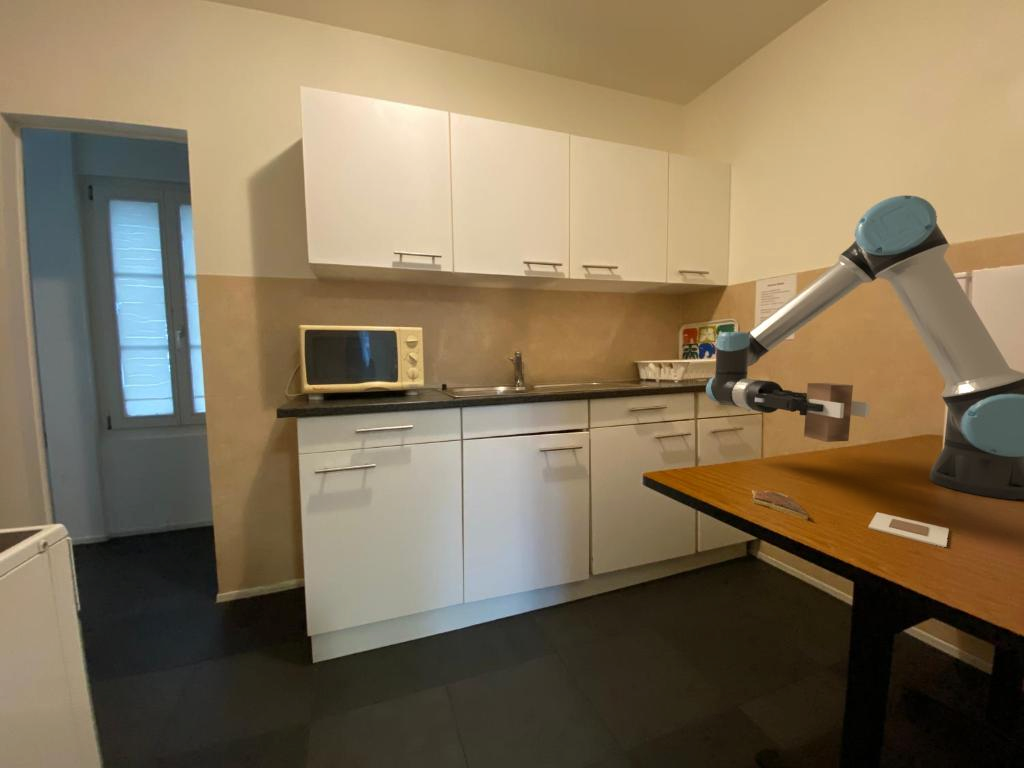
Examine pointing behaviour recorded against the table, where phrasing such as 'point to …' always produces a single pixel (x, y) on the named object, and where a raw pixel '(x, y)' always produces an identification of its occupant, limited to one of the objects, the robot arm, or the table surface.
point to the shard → (779, 503)
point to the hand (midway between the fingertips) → (854, 410)
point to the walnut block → (826, 425)
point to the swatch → (910, 529)
